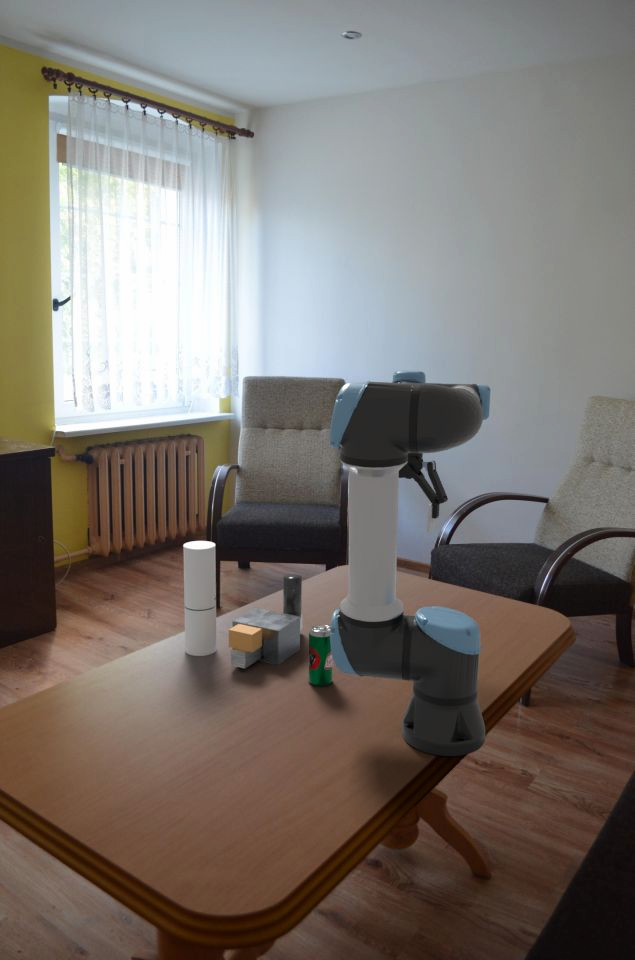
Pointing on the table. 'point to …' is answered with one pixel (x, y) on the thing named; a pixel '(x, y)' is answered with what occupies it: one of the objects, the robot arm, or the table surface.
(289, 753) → the table surface
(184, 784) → the table surface
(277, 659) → the block
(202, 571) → the cylindrical container
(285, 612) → the shaft
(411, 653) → the robot arm
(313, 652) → the soda can
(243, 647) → the block
